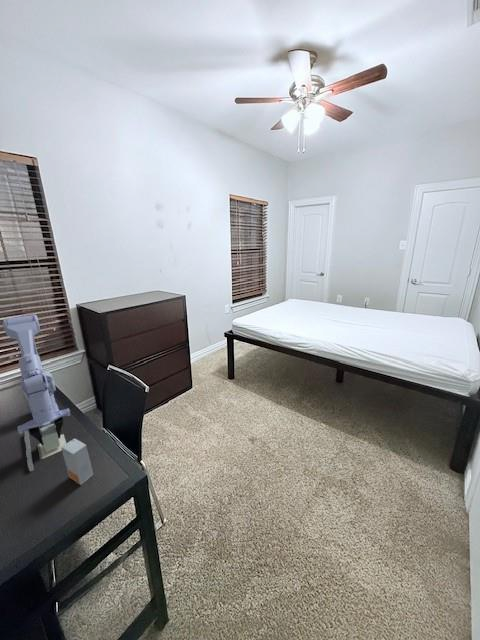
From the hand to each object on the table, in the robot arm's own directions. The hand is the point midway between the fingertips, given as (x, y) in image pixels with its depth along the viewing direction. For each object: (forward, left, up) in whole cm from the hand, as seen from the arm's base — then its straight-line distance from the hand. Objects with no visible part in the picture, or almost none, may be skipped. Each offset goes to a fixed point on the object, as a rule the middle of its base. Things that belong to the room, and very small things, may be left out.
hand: (50, 440), depth 93 cm
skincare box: (+21, +5, -3) cm, 22 cm away
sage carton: (0, 0, -2) cm, 2 cm away
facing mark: (0, 0, -3) cm, 3 cm away
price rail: (-3, -7, -3) cm, 8 cm away
